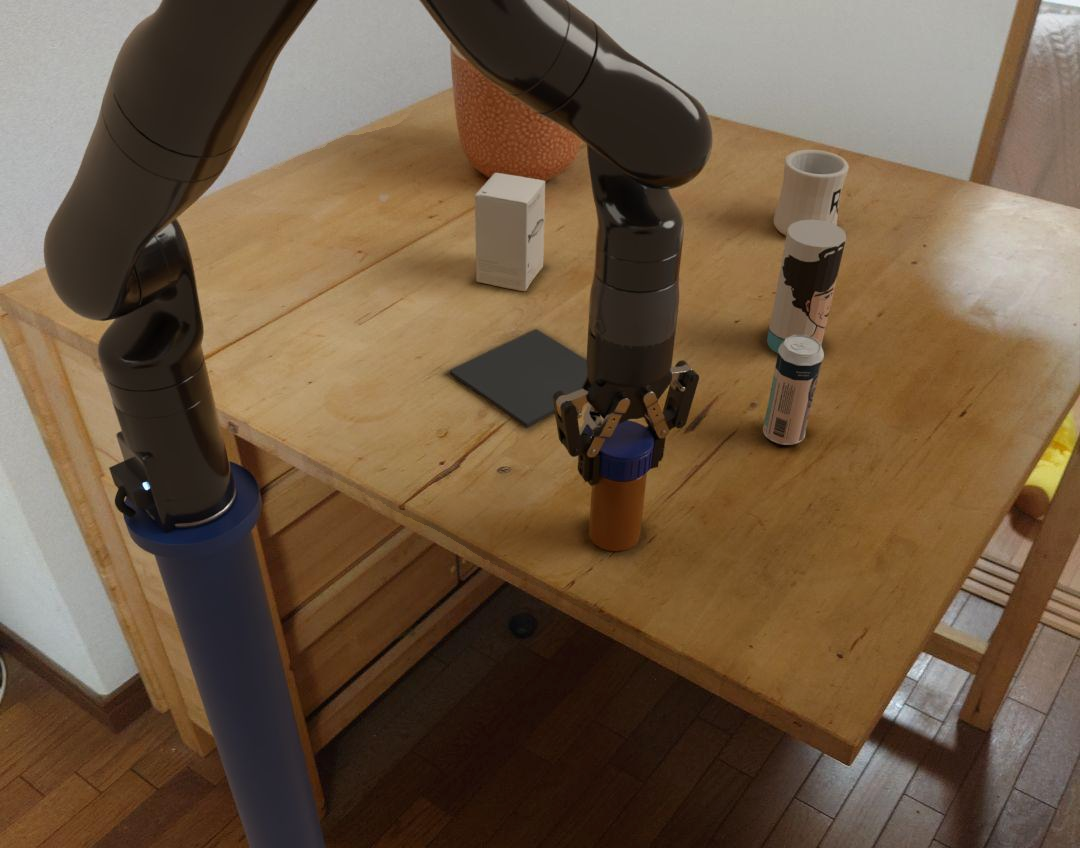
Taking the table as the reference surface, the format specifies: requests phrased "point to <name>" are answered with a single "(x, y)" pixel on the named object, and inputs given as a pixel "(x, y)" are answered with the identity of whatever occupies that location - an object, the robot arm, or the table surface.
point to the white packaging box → (509, 231)
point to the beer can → (793, 389)
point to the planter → (506, 129)
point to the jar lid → (627, 452)
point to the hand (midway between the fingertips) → (619, 471)
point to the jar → (616, 513)
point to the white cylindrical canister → (806, 281)
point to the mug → (810, 188)
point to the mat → (524, 376)
